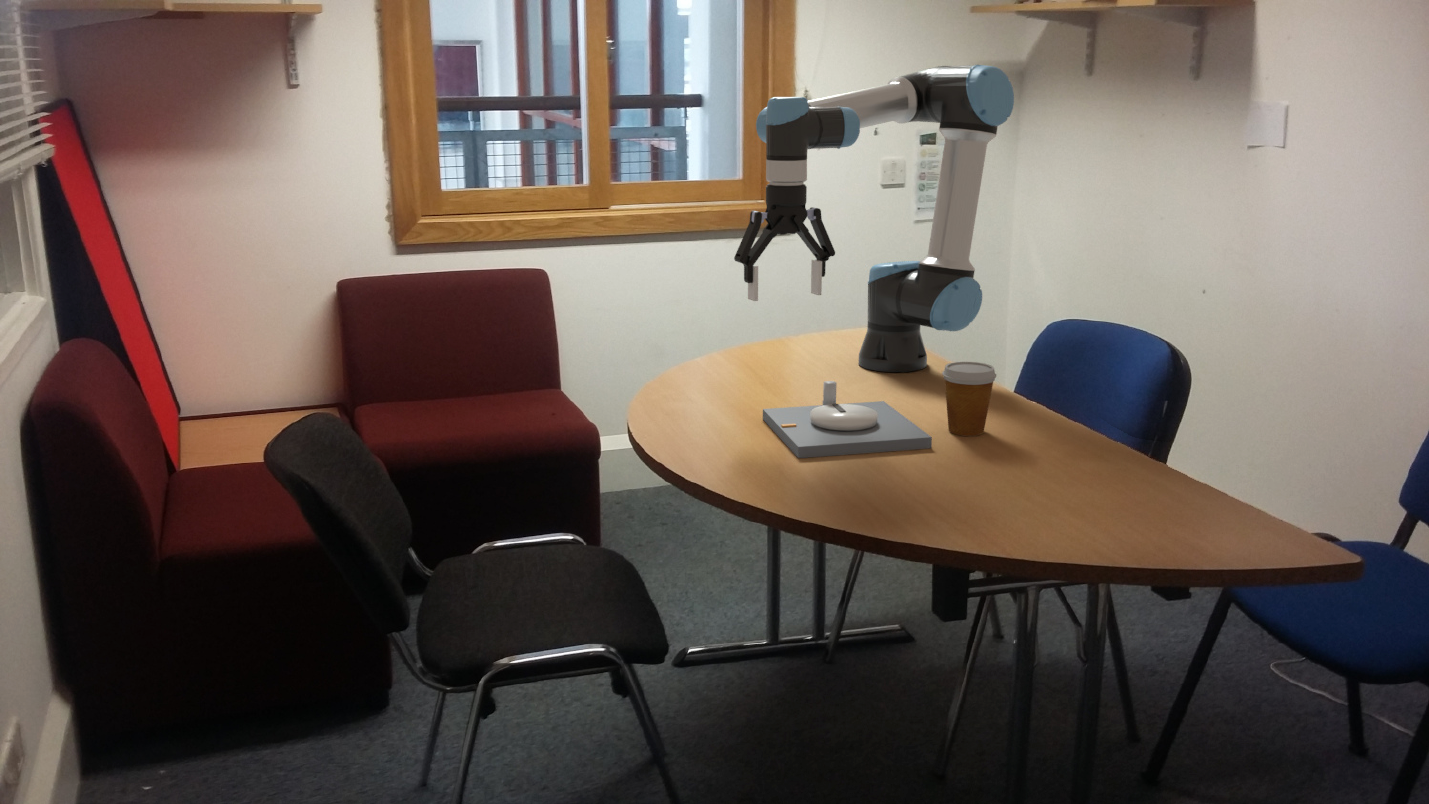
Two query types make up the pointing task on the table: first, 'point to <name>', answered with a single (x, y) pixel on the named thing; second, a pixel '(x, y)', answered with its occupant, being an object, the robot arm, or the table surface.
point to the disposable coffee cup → (968, 396)
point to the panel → (845, 432)
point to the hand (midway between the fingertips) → (784, 297)
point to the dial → (841, 413)
